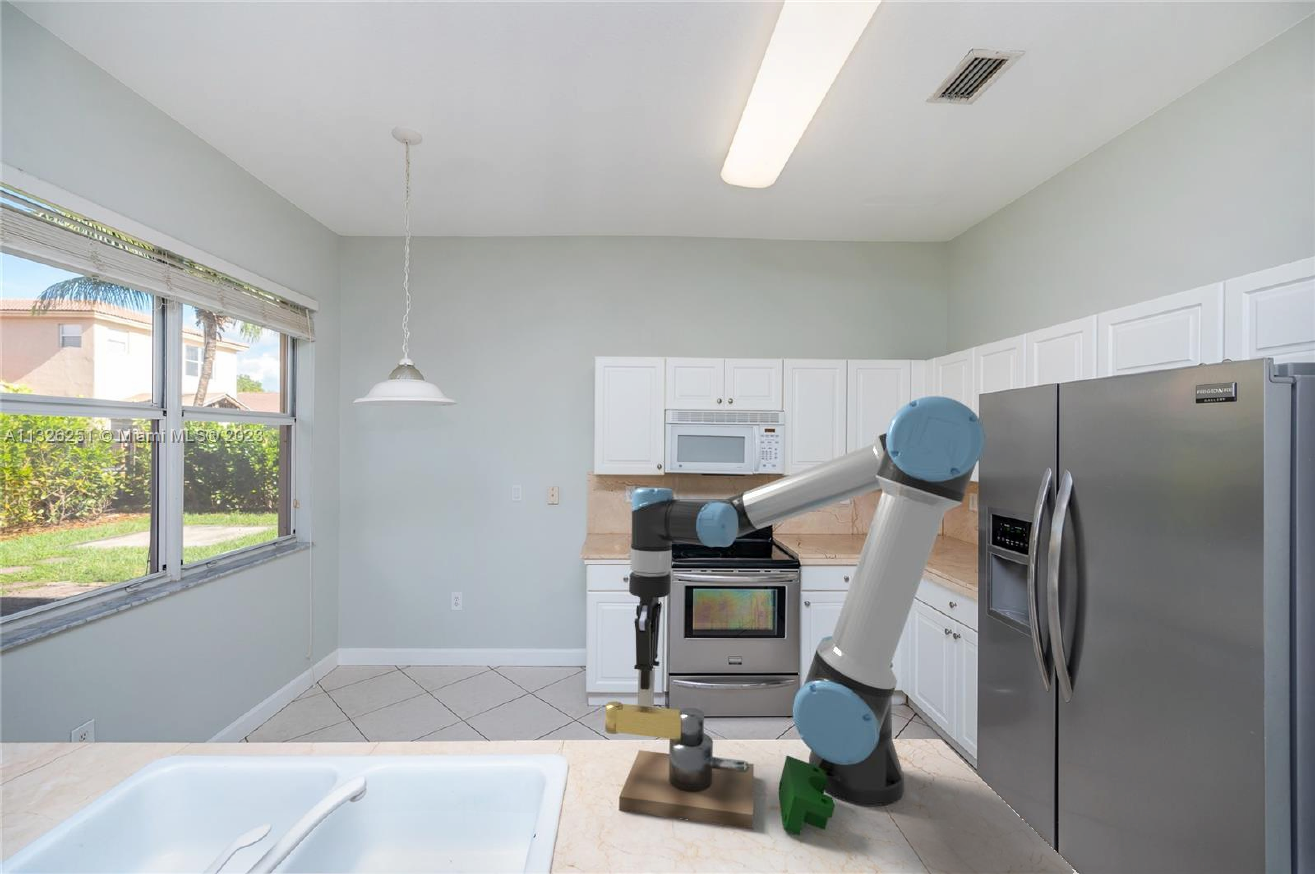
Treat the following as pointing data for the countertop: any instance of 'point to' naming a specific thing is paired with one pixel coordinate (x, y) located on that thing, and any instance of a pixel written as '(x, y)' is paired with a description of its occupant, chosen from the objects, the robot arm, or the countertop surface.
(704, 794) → the stand
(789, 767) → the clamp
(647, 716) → the yellow bar
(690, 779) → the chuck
